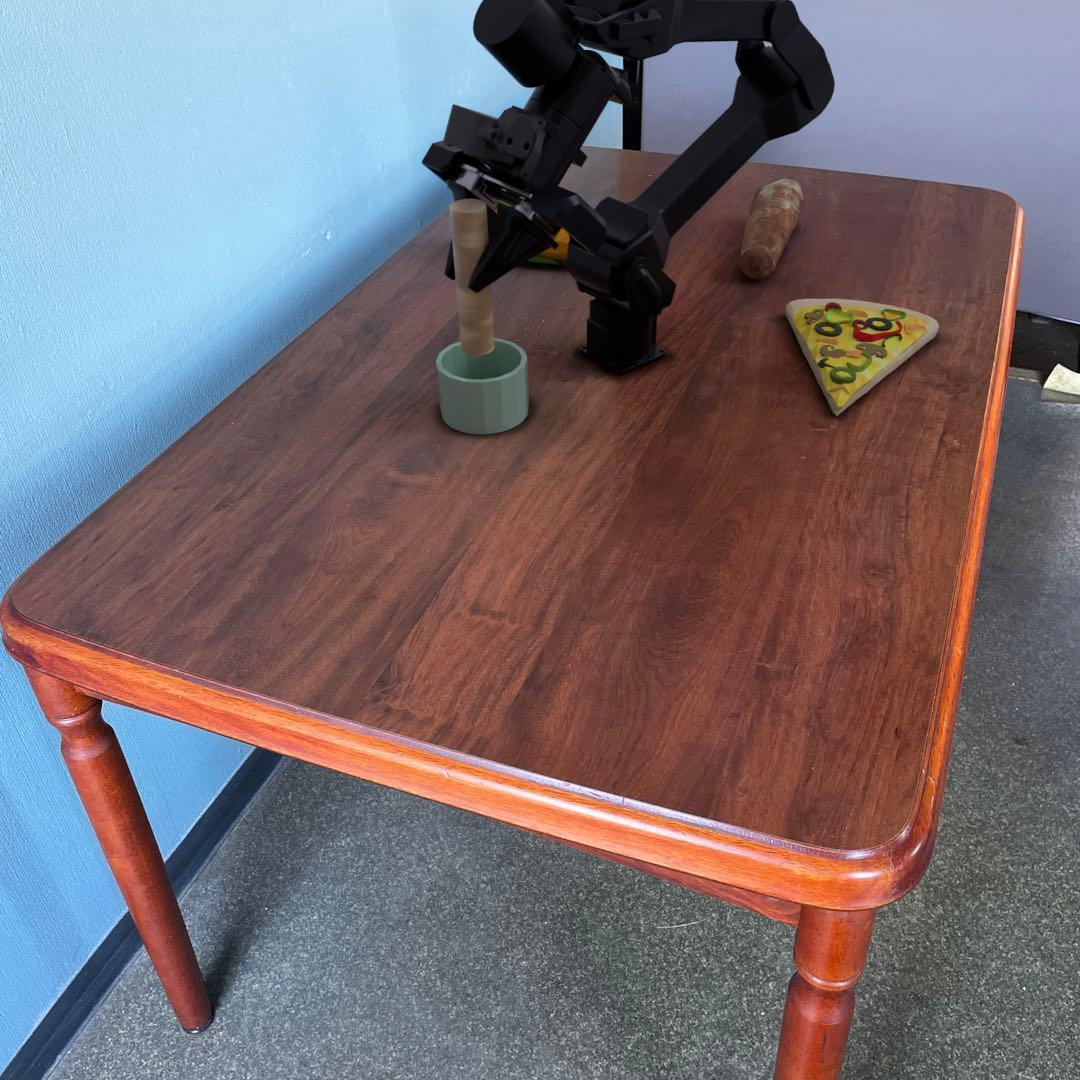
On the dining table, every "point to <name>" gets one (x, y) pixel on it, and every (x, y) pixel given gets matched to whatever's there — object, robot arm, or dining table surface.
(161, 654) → the dining table surface
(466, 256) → the dowel
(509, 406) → the cup
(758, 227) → the bread
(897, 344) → the pizza slice
